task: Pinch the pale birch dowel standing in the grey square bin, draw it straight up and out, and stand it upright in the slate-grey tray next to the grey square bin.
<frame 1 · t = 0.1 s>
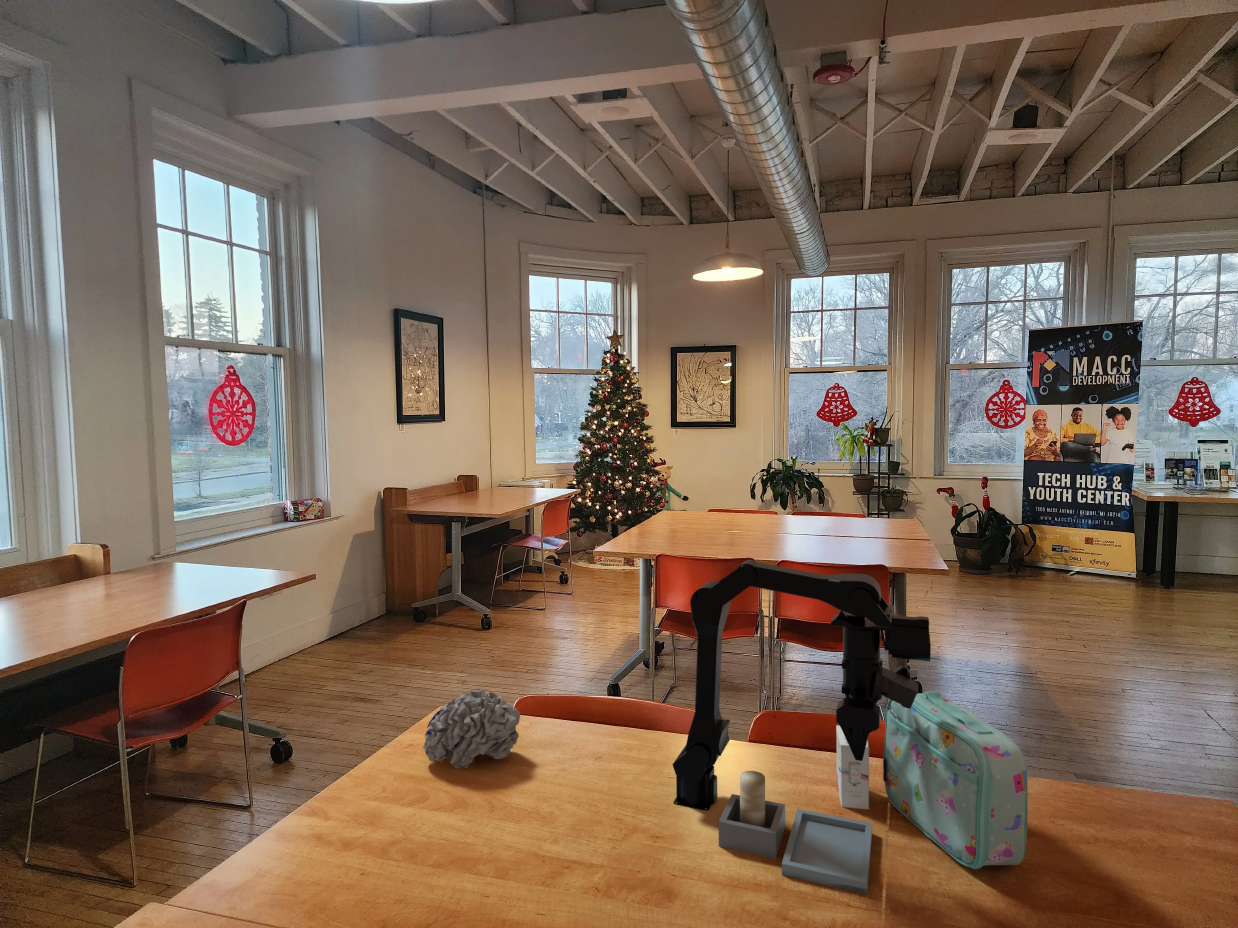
hand: (860, 747, 114), 15 cm above the table, tool pointing down, fingers open, 9 cm apart
lunch box: (944, 832, 115), on the table
grey square bin: (752, 839, 113), on the table
dowel: (752, 836, 113), resting on grey square bin
educational model: (472, 759, 142), on the table
ink cartridge box: (851, 799, 125), on the table
tray: (829, 855, 109), on the table
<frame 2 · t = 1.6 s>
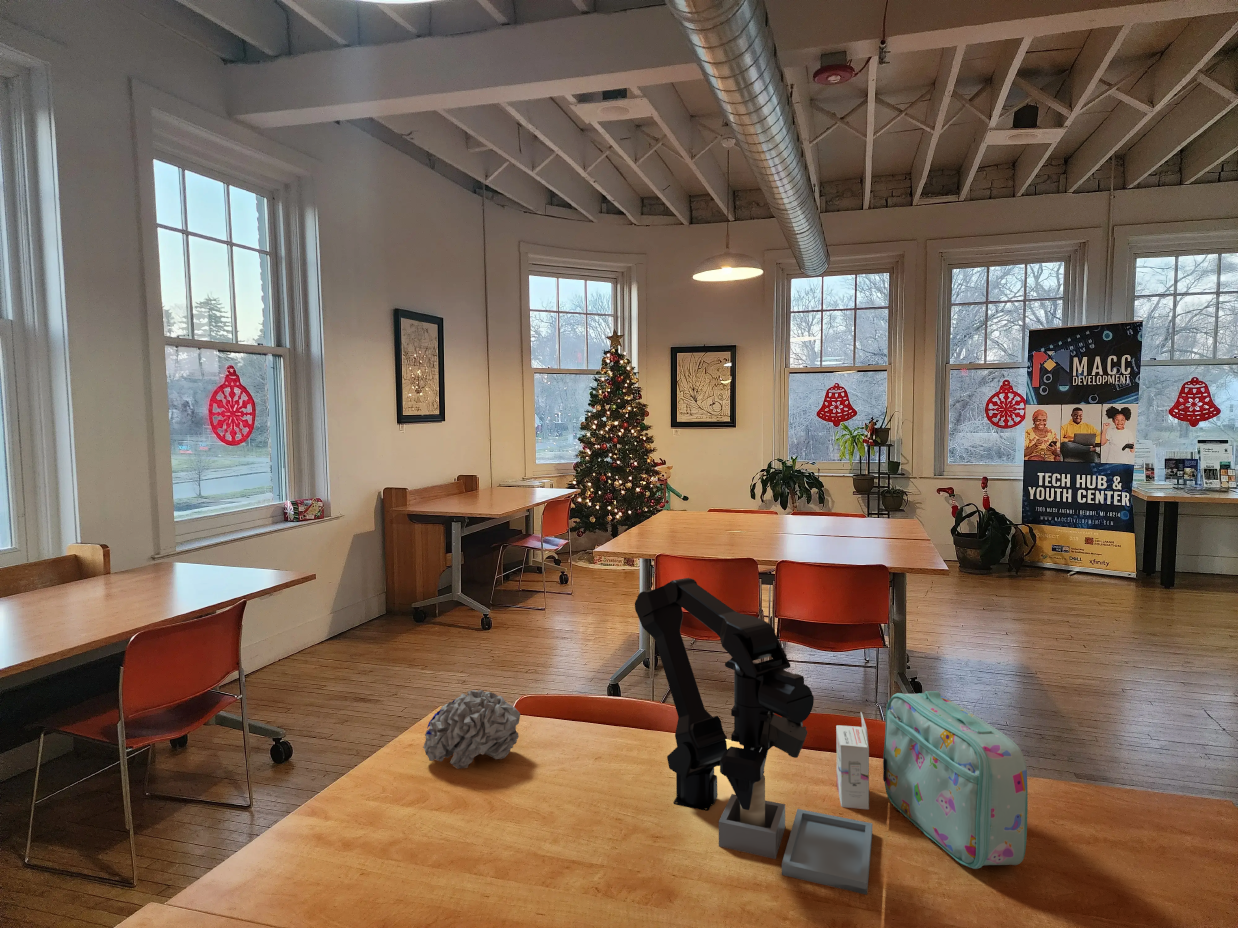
hand: (752, 794, 113), 7 cm above the table, tool pointing down, fingers open, 9 cm apart
nothing on the table moved.
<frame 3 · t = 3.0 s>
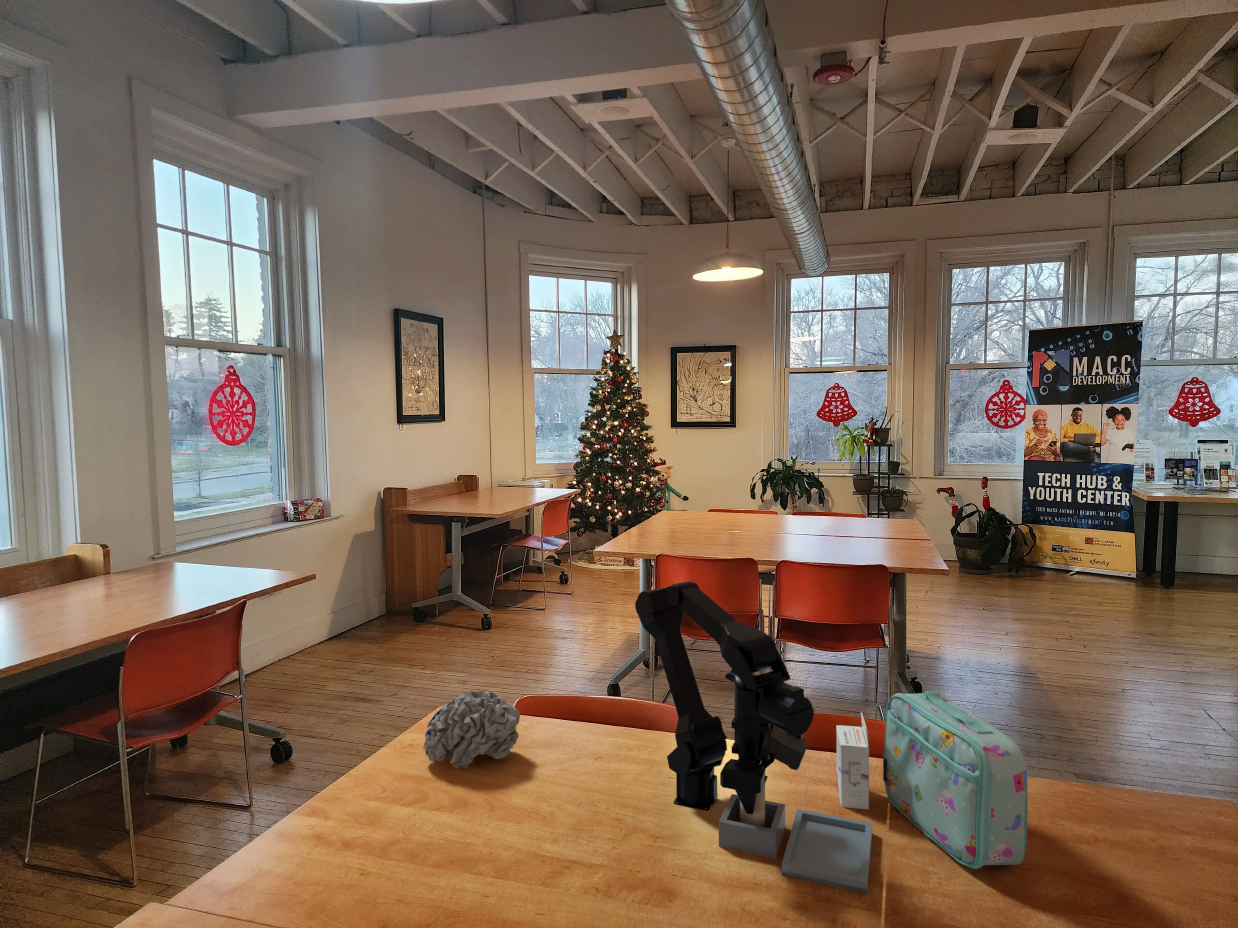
hand: (752, 806, 113), 6 cm above the table, tool pointing down, fingers closed on dowel, 4 cm apart
dowel: (752, 836, 113), point 1 cm above the table, touching grey square bin, gripper
everything else where it was.
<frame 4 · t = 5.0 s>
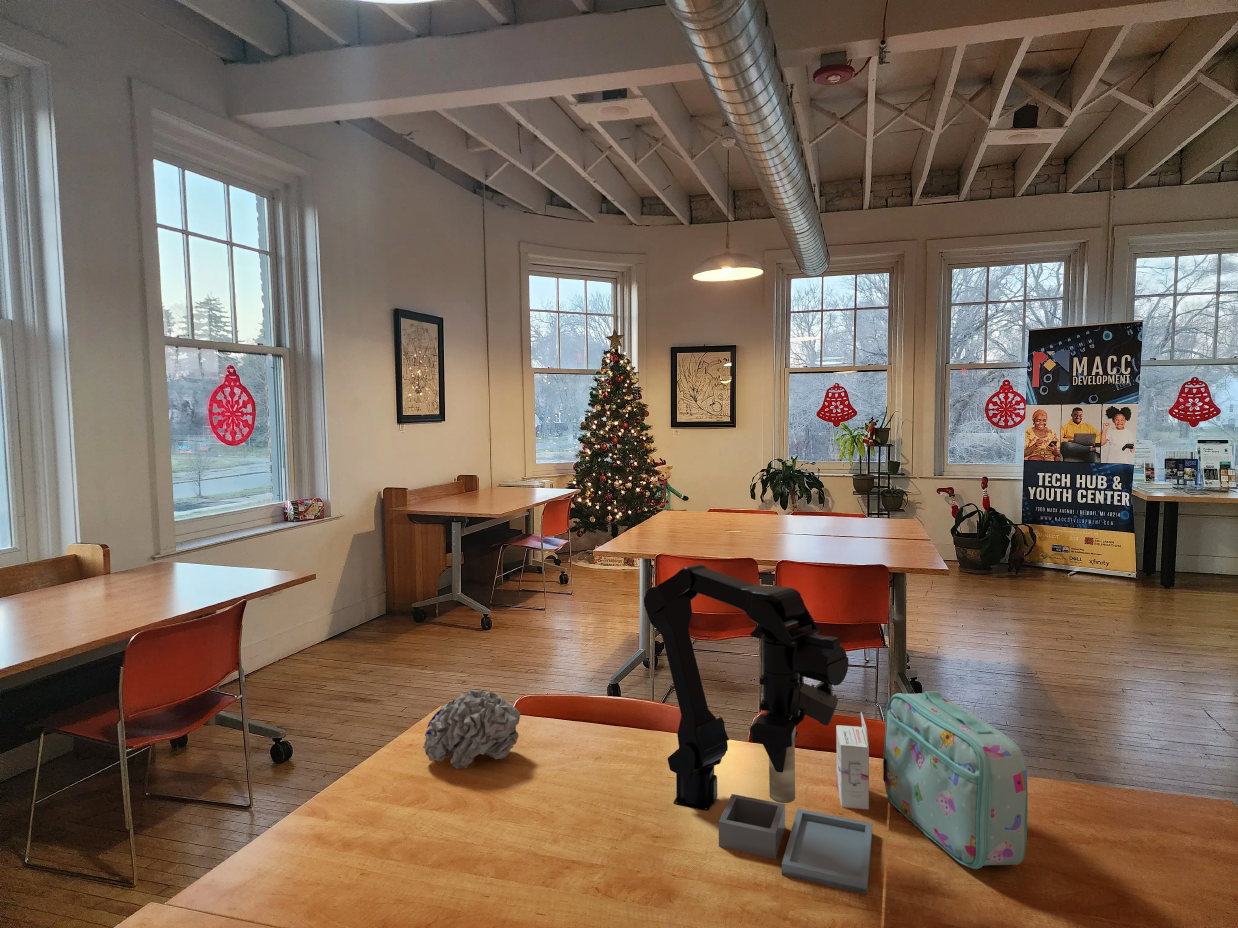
hand: (782, 765, 111), 13 cm above the table, tool pointing down, fingers closed on dowel, 4 cm apart
dowel: (782, 796, 111), point 8 cm above the table, touching gripper
everything else where it was.
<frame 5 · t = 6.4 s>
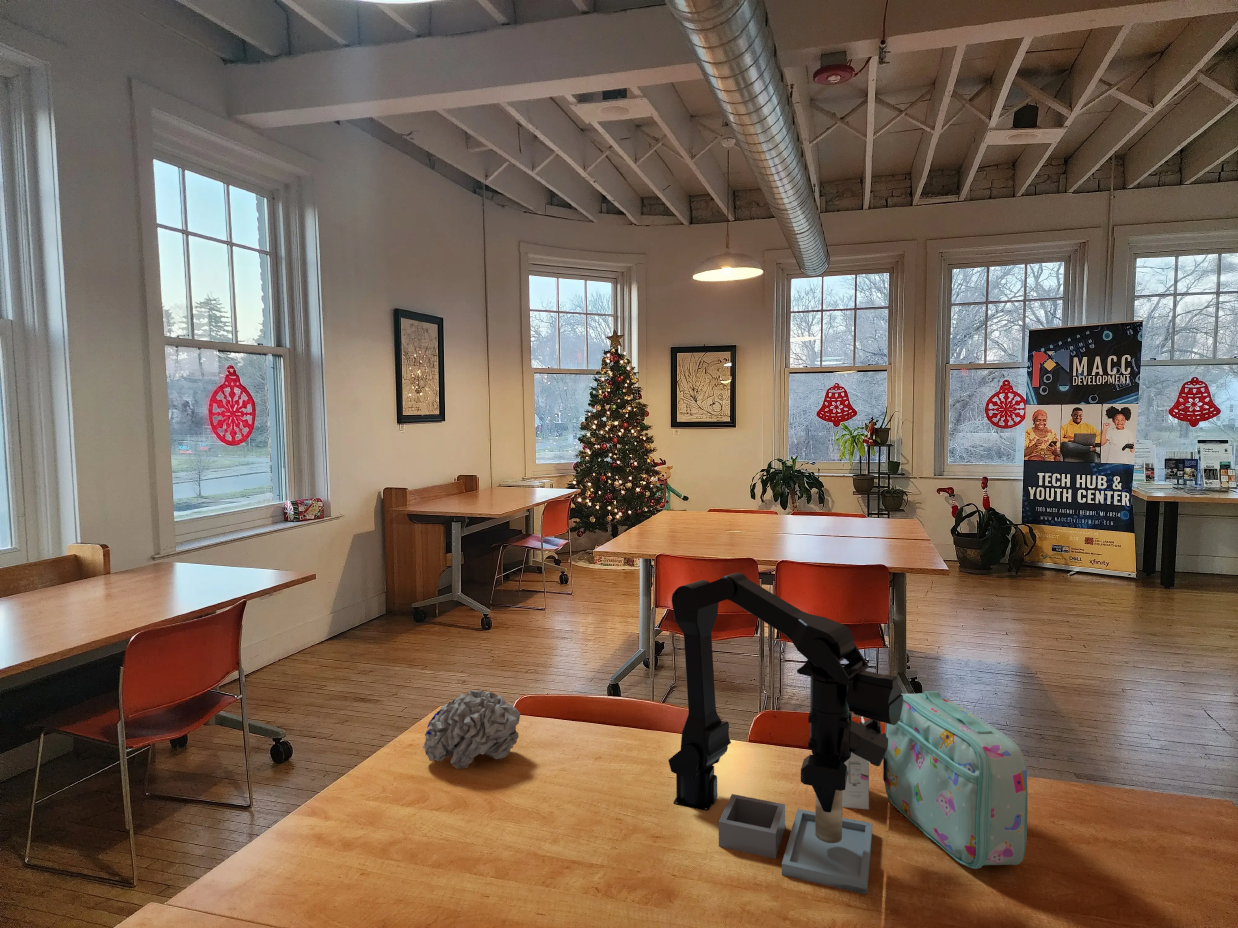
hand: (828, 804, 108), 8 cm above the table, tool pointing down, fingers closed on dowel, 4 cm apart
dowel: (828, 835, 109), point 3 cm above the table, touching gripper
everything else where it was.
when the fingers open (7 cm above the table, at t = 7.3 s): dowel drops 1 cm, resting on tray.
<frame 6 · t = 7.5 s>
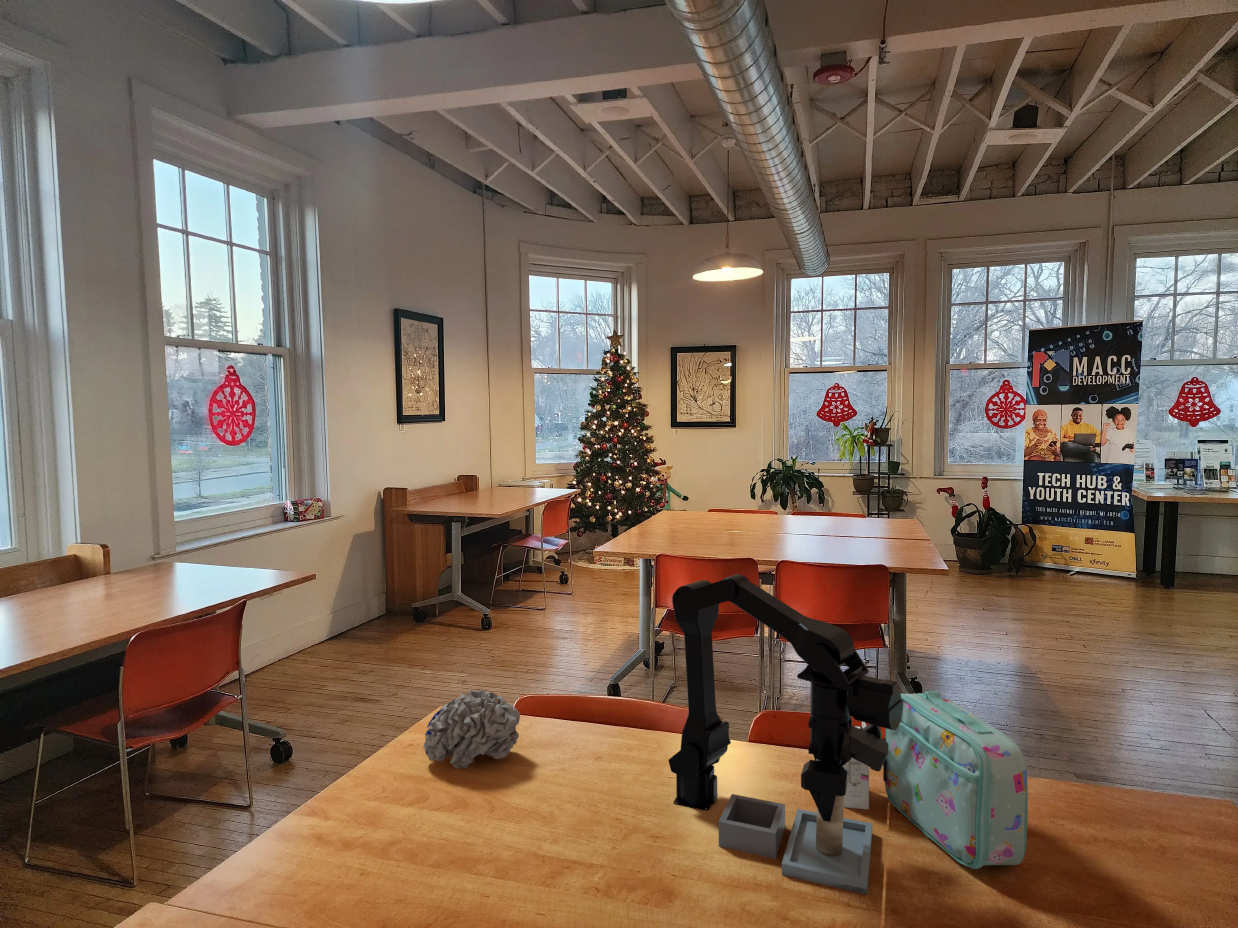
hand: (829, 809, 108), 7 cm above the table, tool pointing down, fingers open, 6 cm apart
dowel: (828, 848, 109), point 1 cm above the table, touching tray
everything else where it was.
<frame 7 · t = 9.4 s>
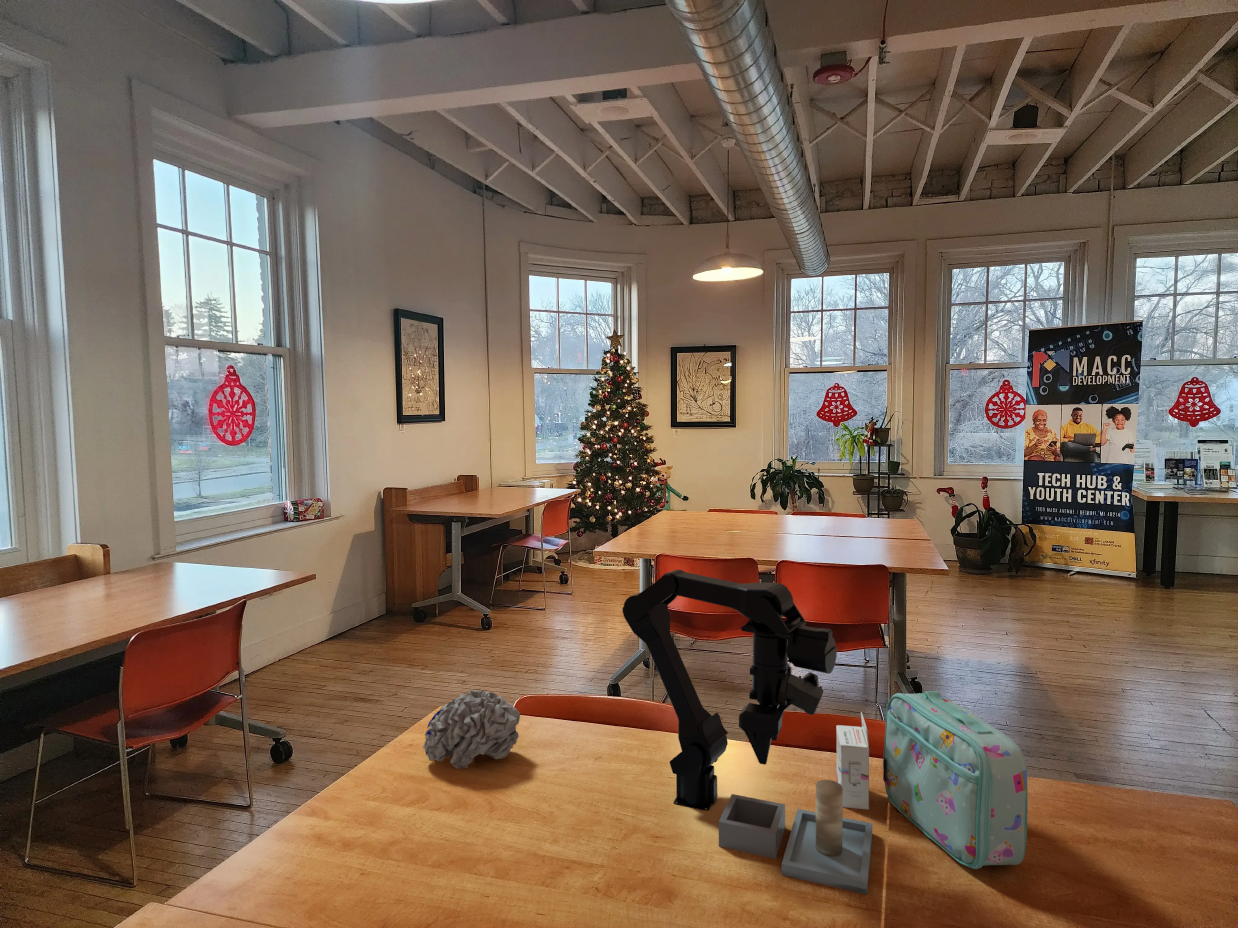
hand: (768, 751, 117), 13 cm above the table, tool pointing down, fingers open, 9 cm apart
nothing on the table moved.
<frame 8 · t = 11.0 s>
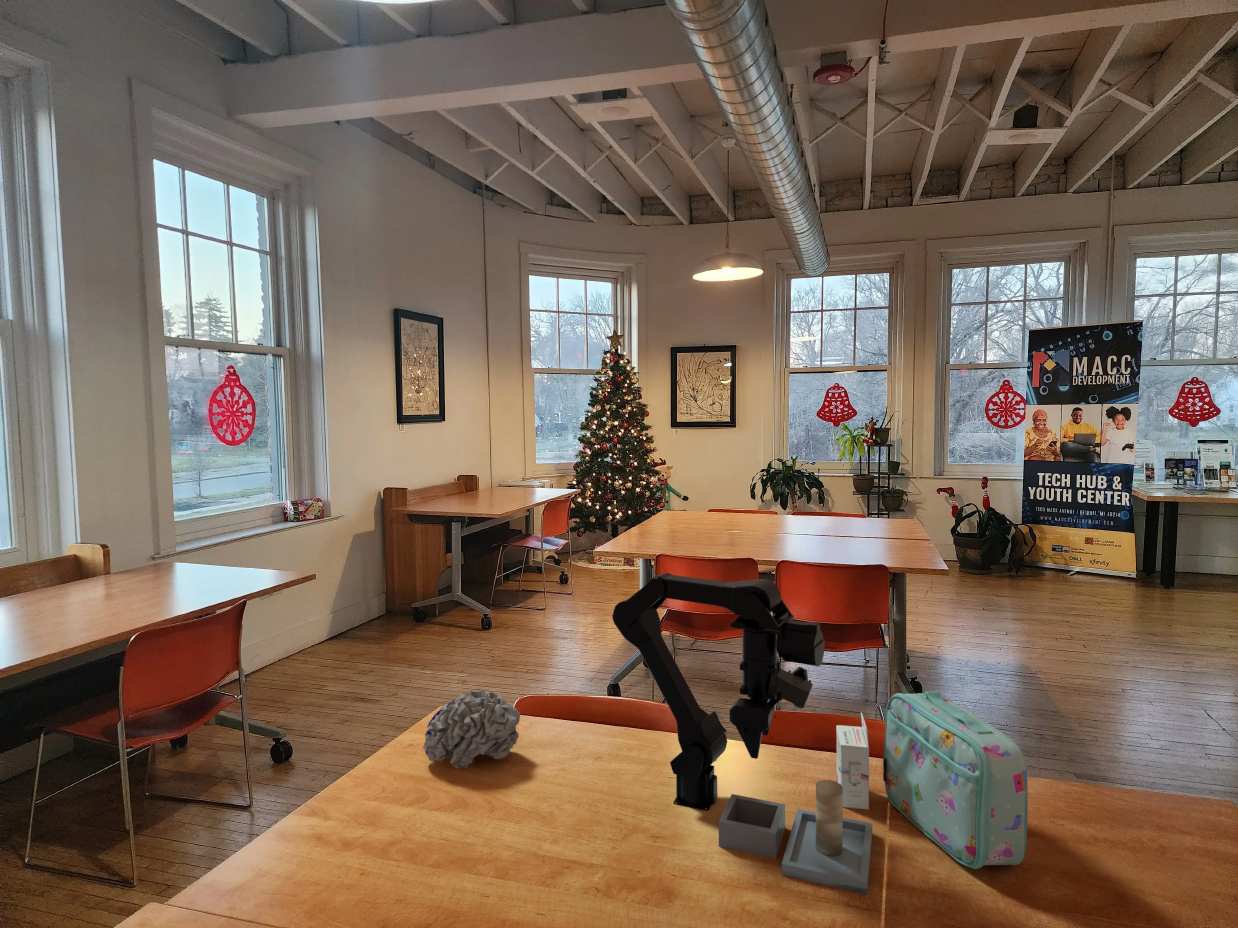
hand: (759, 745, 118), 13 cm above the table, tool pointing down, fingers open, 9 cm apart
nothing on the table moved.
at the end: dowel inside the target area on the tray (0.0 cm from its centre), point 1.2 cm above the tray's base; dowel tilted 0°; the gripper is holding nothing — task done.
